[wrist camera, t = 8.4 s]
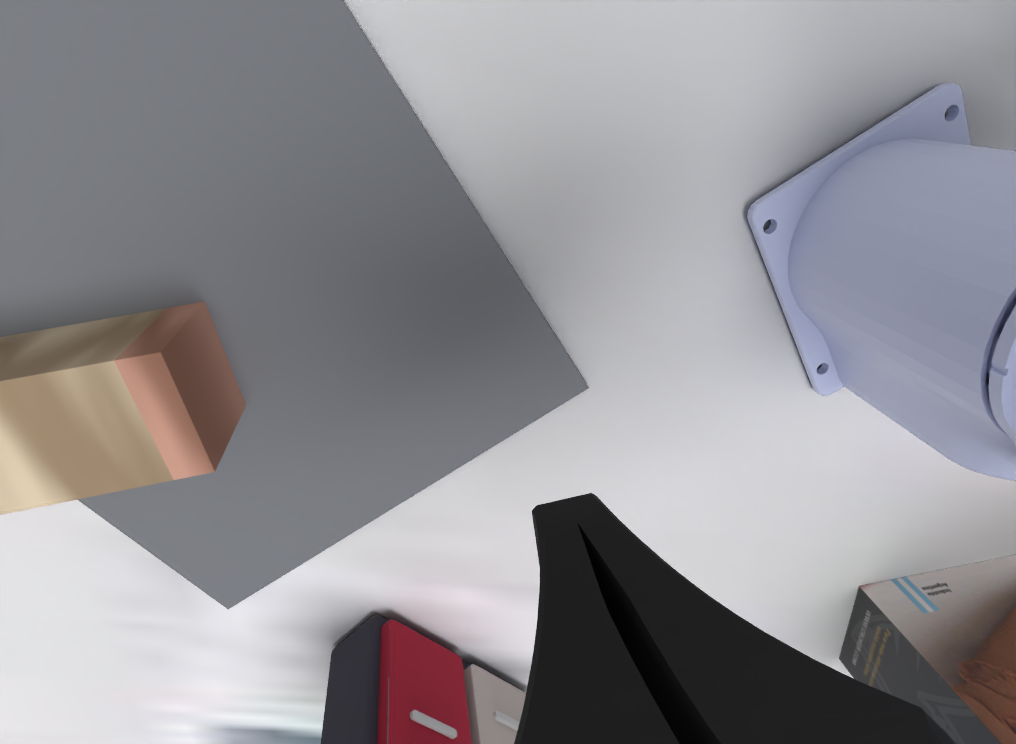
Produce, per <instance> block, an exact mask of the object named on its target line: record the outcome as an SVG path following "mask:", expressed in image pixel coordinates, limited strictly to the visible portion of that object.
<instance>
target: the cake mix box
mask: <svg viewBox="0 0 1016 744" xmlns="http://www.w3.org/2000/svg"><path fill="white" fill-rule="evenodd" d="M839 659H840V661H841V662H842V663H843V665H844V666H845V667H846V669H847V670H848V671H849V672H850V674H851V675H852V676H853V678H854V679H855V680H857V681H860V682H862V683H864V684H867V685H869V686H871V687H874V688H876V689H878V690H881V691H883V692H886V693H888V694H890V695H893V696H895V697H897V698H900V699H902V700H904V701H907V702H909V703H911V704H914V705H916V706H918V707H921V708H923V709H924V711H925V712H926V713H927V714H928V715H929V716H930V717H931V718H932V719H933V720H934V721H935V722H936V723H937V724H938V725H939V726H940V727H941V728H942V729H943V730H944V731H946V732H947V734H948V735H949V736H950V737H951V738H952V739H953V740H954V741H955V742H956V743H957V744H1016V554H1015V555H1010V556H1005V557H1000V558H995V559H990V560H985V561H980V562H975V563H970V564H966V565H961V566H956V567H951V568H946V569H941V570H936V571H931V572H926V573H921V574H916V575H911V576H906V577H901V578H896V579H891V580H886V581H881V582H876V583H871V584H866V585H861V586H859V588H858V592H857V595H856V599H855V603H854V606H853V610H852V613H851V617H850V621H849V624H848V628H847V632H846V635H845V639H844V642H843V646H842V650H841V653H840V657H839Z"/></svg>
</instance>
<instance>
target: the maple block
mask: <svg viewBox="0 0 1016 744" xmlns="http://www.w3.org/2000/svg"><path fill="white" fill-rule="evenodd" d="M245 407H246V404H245V401H244V399H243V396H242V394H241V391H240V389H239V386H238V384H237V381H236V379H235V376H234V374H233V371H232V369H231V366H230V364H229V361H228V359H227V356H226V354H225V351H224V348H223V346H222V343H221V341H220V338H219V336H218V333H217V331H216V328H215V326H214V323H213V321H212V318H211V316H210V313H209V311H208V308H207V306H206V303H205V301H204V302H199V303H193V304H187V305H181V306H176V307H170V308H164V309H159V310H153V311H147V312H141V313H136V314H130V315H124V316H119V317H113V318H107V319H101V320H96V321H90V322H84V323H79V324H73V325H67V326H61V327H56V328H50V329H44V330H38V331H33V332H27V333H21V334H16V335H10V336H4V337H0V515H2V514H7V513H12V512H17V511H22V510H27V509H32V508H37V507H42V506H47V505H52V504H57V503H62V502H67V501H72V500H77V499H82V498H87V497H92V496H97V495H102V494H107V493H112V492H117V491H122V490H127V489H132V488H137V487H142V486H147V485H152V484H157V483H162V482H167V481H172V480H177V479H182V478H187V477H192V476H197V475H202V474H207V473H212V472H215V471H216V469H217V467H218V464H219V462H220V460H221V458H222V456H223V454H224V452H225V450H226V447H227V445H228V443H229V441H230V439H231V437H232V435H233V432H234V430H235V428H236V426H237V424H238V422H239V420H240V418H241V415H242V413H243V411H244V409H245Z"/></svg>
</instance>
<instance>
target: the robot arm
mask: <svg viewBox="0 0 1016 744" xmlns="http://www.w3.org/2000/svg"><path fill="white" fill-rule="evenodd" d="M948 108H949V113H948V115H947V117H946V118H945V112H946V110H947V109H948ZM747 217H748V222H749V224H750V227H751V229H752V232H753V235H754V237H755V240H756V242H757V245H758V247H759V250H760V253H761V255H762V258H763V260H764V263H765V266H766V268H767V271H768V273H769V276H770V278H771V281H772V284H773V286H774V289H775V291H776V294H777V297H778V299H779V302H780V304H781V307H782V310H783V312H784V315H785V317H786V320H787V322H788V325H789V328H790V330H791V333H792V335H793V338H794V341H795V343H796V346H797V348H798V351H799V353H800V356H801V359H802V361H803V364H804V366H805V369H806V372H807V374H808V377H809V379H810V382H811V384H812V387H813V389H814V390H815V392H817V393H818V394H819V395H822V396H828V395H830V394H832V393H834V392H836V391H837V390H839V389H841V388H842V387H846V388H847V389H849V390H850V391H852V392H853V393H854V394H856V395H857V396H859V397H860V398H862V399H863V400H864V401H866V402H867V403H869V404H870V405H872V406H873V407H875V408H876V409H877V410H879V411H880V412H882V413H883V414H885V415H886V416H887V417H889V418H890V419H892V420H893V421H895V422H896V423H898V424H899V425H900V426H902V427H903V428H905V429H906V430H908V431H909V432H910V433H912V434H913V435H915V436H916V437H918V438H919V439H920V440H922V441H923V442H925V443H926V444H928V445H929V446H931V447H932V448H933V449H935V450H936V451H938V452H939V453H941V454H942V455H943V456H945V457H946V458H948V459H950V460H951V461H953V462H955V463H957V464H959V465H960V466H963V467H965V468H967V469H970V470H972V471H975V472H978V473H981V474H985V475H989V476H993V477H998V478H1002V479H1008V480H1015V481H1016V151H1014V150H1006V149H997V148H989V147H980V146H972V145H971V143H970V137H969V131H968V125H967V119H966V113H965V107H964V101H963V95H962V90H961V88H960V86H959V85H958V84H956V83H943V84H940V85H938V86H937V87H935V88H933V89H932V90H930V91H929V92H927V93H925V94H924V95H922V96H921V97H919V98H918V99H916V100H914V101H913V102H911V103H910V104H908V105H907V106H905V107H903V108H902V109H900V110H899V111H897V112H895V113H894V114H892V115H891V116H889V117H888V118H886V119H884V120H883V121H881V122H880V123H878V124H876V125H875V126H873V127H872V128H870V129H869V130H867V131H865V132H864V133H862V134H861V135H859V136H857V137H856V138H854V139H853V140H851V141H850V142H848V143H846V144H845V145H843V146H842V147H840V148H838V149H837V150H835V151H834V152H832V153H831V154H829V155H827V156H826V157H824V158H823V159H821V160H819V161H818V162H816V163H815V164H813V165H812V166H810V167H808V168H807V169H805V170H804V171H802V172H800V173H799V174H797V175H796V176H794V177H793V178H791V179H789V180H788V181H786V182H785V183H783V184H782V185H780V186H778V187H777V188H775V189H774V190H772V191H770V192H769V193H767V194H766V195H764V196H763V197H761V198H759V199H758V200H756V201H755V202H754V203H753V204H752V205H751V206H750V208H749V210H748V214H747ZM767 220H771V225H770V227H769V228H768V229H767V230H766V231H763V226H764V224H765V222H766V221H767ZM820 364H822V366H821V367H820V368H819V369H818V370H817V368H818V366H819V365H820ZM532 516H533V523H534V530H535V537H536V543H537V550H538V557H539V564H540V592H539V606H538V620H537V629H536V637H535V645H534V652H533V658H532V665H531V670H530V676H529V681H528V686H527V691H526V696H525V701H524V706H523V710H522V715H521V719H520V723H519V727H518V730H517V734H516V738H515V742H514V744H957V743H956V742H955V741H954V740H953V739H952V738H951V737H950V736H949V735H948V734H947V732H946V731H944V730H943V729H942V728H941V727H940V726H939V725H938V724H937V723H936V722H935V721H934V720H933V719H932V718H931V717H930V716H929V715H928V714H927V713H926V712H925V711H924V709H923V708H921V707H918V706H916V705H914V704H911V703H909V702H907V701H904V700H902V699H900V698H897V697H895V696H893V695H890V694H888V693H886V692H883V691H881V690H878V689H876V688H874V687H871V686H869V685H867V684H864V683H862V682H860V681H857V680H855V679H853V678H851V677H849V676H847V675H844V674H842V673H840V672H838V671H836V670H834V669H832V668H830V667H828V666H826V665H824V664H822V663H820V662H818V661H816V660H814V659H812V658H810V657H808V656H807V655H805V654H803V653H801V652H799V651H798V650H796V649H794V648H792V647H790V646H789V645H787V644H785V643H783V642H781V641H780V640H778V639H776V638H774V637H772V636H770V635H769V634H767V633H765V632H764V631H762V630H760V629H759V628H757V627H755V626H754V625H752V624H751V623H749V622H748V621H746V620H744V619H743V618H741V617H740V616H738V615H736V614H735V613H733V612H732V611H730V610H729V609H728V608H726V607H725V606H723V605H722V604H720V603H719V602H717V601H716V600H714V599H713V598H712V597H710V596H709V595H707V594H706V593H705V592H703V591H702V590H701V589H699V588H698V587H696V586H695V585H694V584H693V583H691V582H690V581H689V580H687V579H686V578H685V577H684V576H682V575H681V574H680V573H678V572H677V571H676V570H675V569H673V568H672V567H671V566H670V565H669V564H667V563H666V562H665V561H664V560H663V559H661V558H660V557H659V556H658V555H657V554H656V553H655V552H654V551H652V550H651V549H650V548H649V547H648V546H647V545H646V544H644V543H643V542H642V541H641V540H640V539H639V538H638V537H637V536H636V535H634V534H633V533H632V532H631V531H630V530H629V529H628V528H627V527H626V526H625V525H624V524H623V523H622V522H621V521H620V520H619V519H618V518H617V517H616V516H615V515H614V514H613V513H612V512H611V511H610V510H609V509H608V508H607V507H606V506H605V505H604V504H603V503H602V502H601V500H600V499H599V498H598V497H597V496H595V495H594V494H592V493H589V494H585V495H581V496H576V497H572V498H567V499H563V500H559V501H554V502H550V503H546V504H541V505H537V506H536V507H535V508H534V509H533V510H532Z"/></svg>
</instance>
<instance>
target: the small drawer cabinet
mask: <svg viewBox="0 0 1016 744" xmlns="http://www.w3.org/2000/svg"><path fill="white" fill-rule="evenodd" d="M525 696H526V693H525V692H523V691H521V690H520V689H518V688H516V687H514V686H512V685H511V684H509V683H507V682H505V681H503V680H502V679H500V678H498V677H496V676H495V675H493V674H491V673H489V672H487V671H486V670H484V669H482V668H480V667H478V666H477V665H474V664H471V665H469V664H467V663H465V662H463V661H462V659H461V658H460V656H458V655H457V654H455V653H453V652H451V651H450V650H448V649H446V648H444V647H443V646H441V645H439V644H437V643H435V642H434V641H432V640H430V639H428V638H426V637H425V636H423V635H421V634H419V633H417V632H416V631H414V630H412V629H410V628H408V627H407V626H405V625H403V624H401V623H399V622H398V621H396V620H393V619H390V620H388V619H386V618H384V617H382V616H380V615H373V616H372V617H371V618H369V619H368V620H367V621H366V622H365V623H363V624H362V625H361V626H360V627H359V628H358V629H356V630H355V631H354V632H353V633H352V634H351V635H349V636H348V637H347V638H346V639H345V640H344V641H342V642H341V643H340V644H339V645H338V646H337V647H336V648H334V650H333V651H332V655H331V662H330V671H329V679H328V687H327V696H326V704H325V713H324V721H323V730H322V738H321V744H514V742H515V738H516V734H517V730H518V727H519V723H520V719H521V715H522V710H523V706H524V701H525Z"/></svg>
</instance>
